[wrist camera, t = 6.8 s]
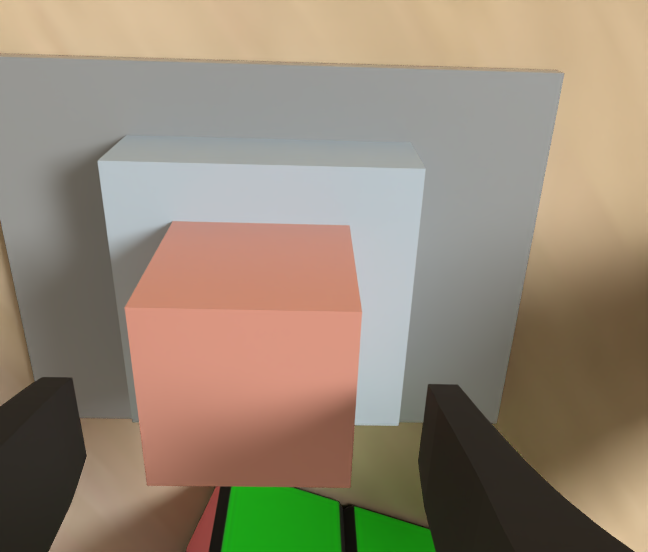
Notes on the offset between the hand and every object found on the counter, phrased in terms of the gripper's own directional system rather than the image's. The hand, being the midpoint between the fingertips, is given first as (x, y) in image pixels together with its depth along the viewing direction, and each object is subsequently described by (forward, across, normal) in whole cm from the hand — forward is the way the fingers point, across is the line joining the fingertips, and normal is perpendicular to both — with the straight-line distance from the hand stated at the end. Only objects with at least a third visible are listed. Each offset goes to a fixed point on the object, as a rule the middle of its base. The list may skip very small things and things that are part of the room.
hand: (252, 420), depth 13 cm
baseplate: (+8, 0, 0) cm, 8 cm away
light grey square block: (+7, 0, 0) cm, 7 cm away
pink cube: (+5, 0, 0) cm, 5 cm away
